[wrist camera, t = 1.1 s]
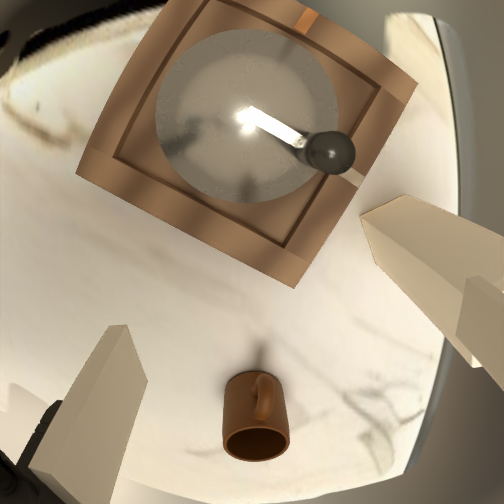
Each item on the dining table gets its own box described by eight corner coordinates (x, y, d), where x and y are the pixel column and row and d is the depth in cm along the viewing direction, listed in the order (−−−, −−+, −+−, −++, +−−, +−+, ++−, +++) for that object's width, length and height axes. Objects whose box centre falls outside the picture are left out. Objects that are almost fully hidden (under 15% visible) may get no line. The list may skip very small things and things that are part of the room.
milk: (375, 263, 34) (494, 400, 13) (358, 214, 32) (501, 329, 11) (419, 240, 33) (557, 347, 12) (405, 192, 31) (569, 271, 10)
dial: (129, 151, 27) (91, 156, 19) (214, 7, 23) (206, -33, 15) (279, 231, 30) (291, 262, 22) (363, 90, 26) (403, 75, 18)
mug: (230, 337, 36) (228, 394, 27) (295, 343, 37) (308, 398, 28) (222, 406, 40) (219, 460, 31) (276, 410, 41) (283, 463, 32)
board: (88, 170, 29) (74, 173, 26) (203, -26, 23) (199, -40, 20) (289, 276, 34) (294, 289, 31) (404, 86, 27) (419, 82, 24)
